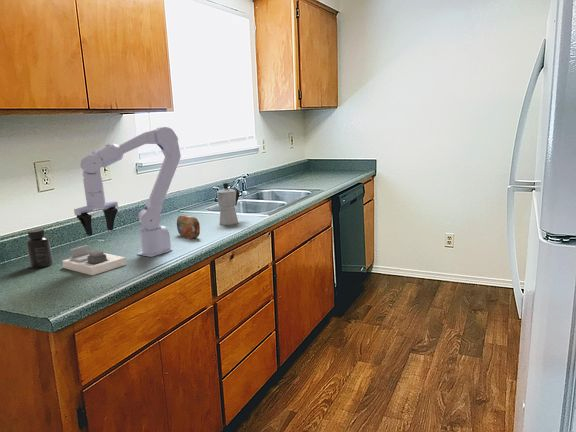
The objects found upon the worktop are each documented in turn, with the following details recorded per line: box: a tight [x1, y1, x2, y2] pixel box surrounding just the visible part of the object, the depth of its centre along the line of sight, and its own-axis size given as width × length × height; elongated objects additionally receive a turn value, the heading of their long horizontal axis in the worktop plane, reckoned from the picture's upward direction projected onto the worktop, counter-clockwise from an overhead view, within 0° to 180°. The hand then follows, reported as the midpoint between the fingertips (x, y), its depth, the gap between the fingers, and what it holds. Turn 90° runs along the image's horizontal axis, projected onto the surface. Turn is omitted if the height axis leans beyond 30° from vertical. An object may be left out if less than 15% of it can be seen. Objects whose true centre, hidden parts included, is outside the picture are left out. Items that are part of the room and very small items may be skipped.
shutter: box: [68, 244, 91, 262], centre depth 151 cm, size 7×7×3 cm
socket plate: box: [62, 250, 127, 276], centre depth 150 cm, size 12×17×3 cm
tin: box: [176, 215, 201, 240], centre depth 184 cm, size 15×3×8 cm, turn 40°
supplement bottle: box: [25, 228, 54, 269], centre depth 154 cm, size 7×7×12 cm
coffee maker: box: [215, 182, 240, 227], centre depth 204 cm, size 15×9×18 cm, turn 148°
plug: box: [87, 250, 107, 265], centre depth 147 cm, size 4×4×6 cm
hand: (100, 232), depth 154 cm, fingers open, 7 cm apart
